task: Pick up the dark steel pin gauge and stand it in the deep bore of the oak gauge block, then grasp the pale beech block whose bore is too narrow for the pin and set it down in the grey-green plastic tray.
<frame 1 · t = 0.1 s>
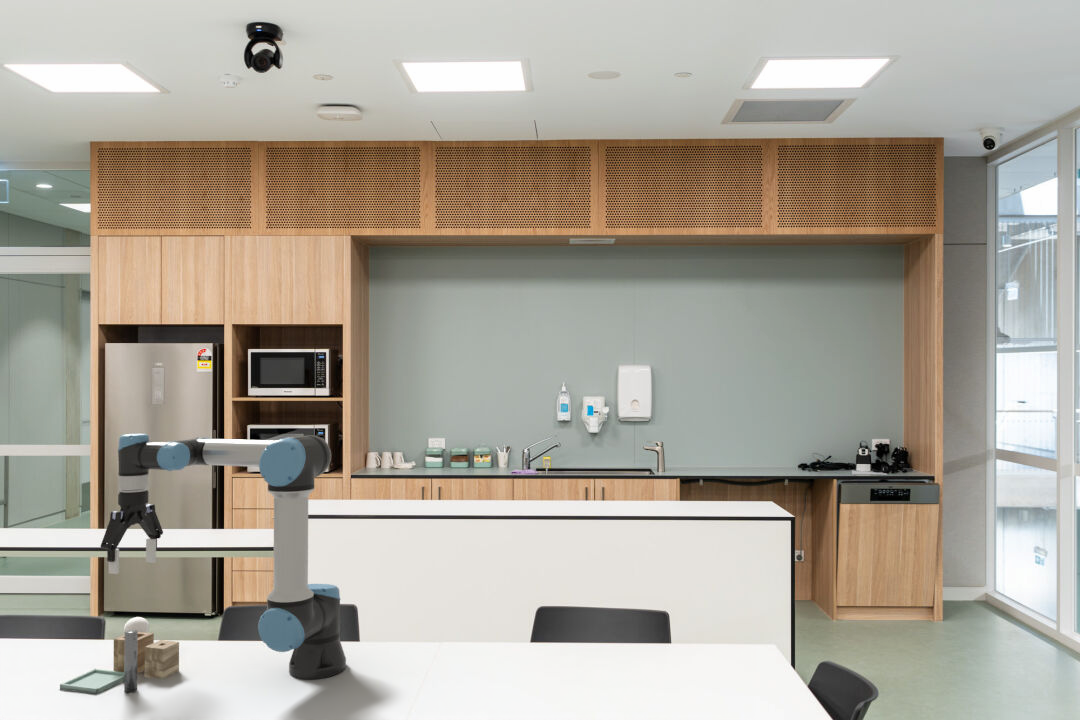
hand: (132, 567, 227), 28 cm above the table, fingers open, 13 cm apart
light bulb: (136, 656, 238), on the table
tray: (96, 683, 217), on the table
narrow-bore block: (161, 674, 224), on the table
wide-bore block: (133, 668, 227), on the table
pin gauge: (130, 690, 212), on the table
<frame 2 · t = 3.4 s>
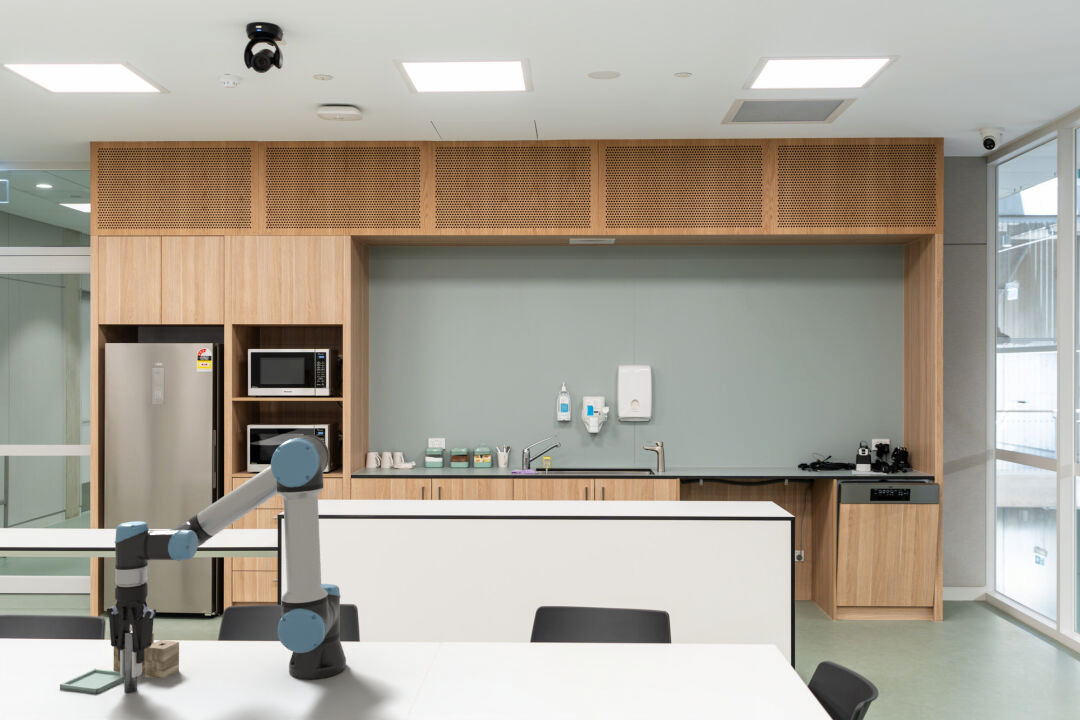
hand: (130, 674, 212), 4 cm above the table, fingers closed on pin gauge, 3 cm apart
pin gauge: (130, 690, 212), on the table, touching gripper
everything else where it was.
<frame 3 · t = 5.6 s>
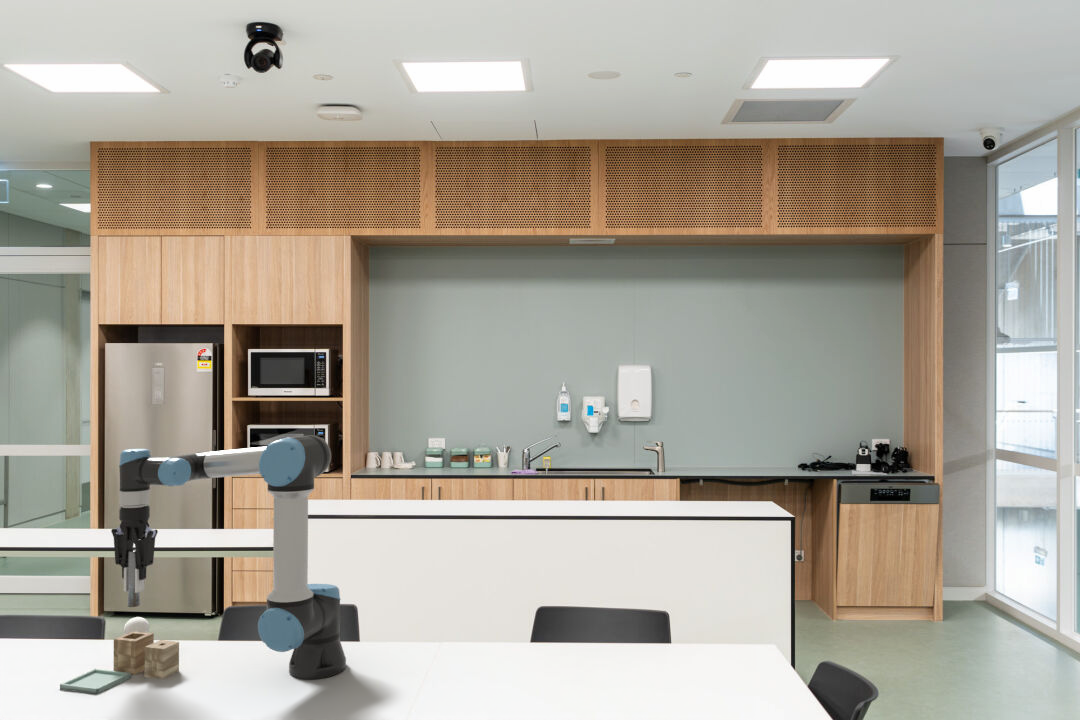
hand: (134, 590, 227), 22 cm above the table, fingers closed on pin gauge, 3 cm apart
pin gauge: (133, 605, 227), point 17 cm above the table, touching gripper
everything else where it was.
when the fingers open (11 cm above the table, at t = 8.3 s): pin gauge drops 4 cm, resting on wide-bore block.
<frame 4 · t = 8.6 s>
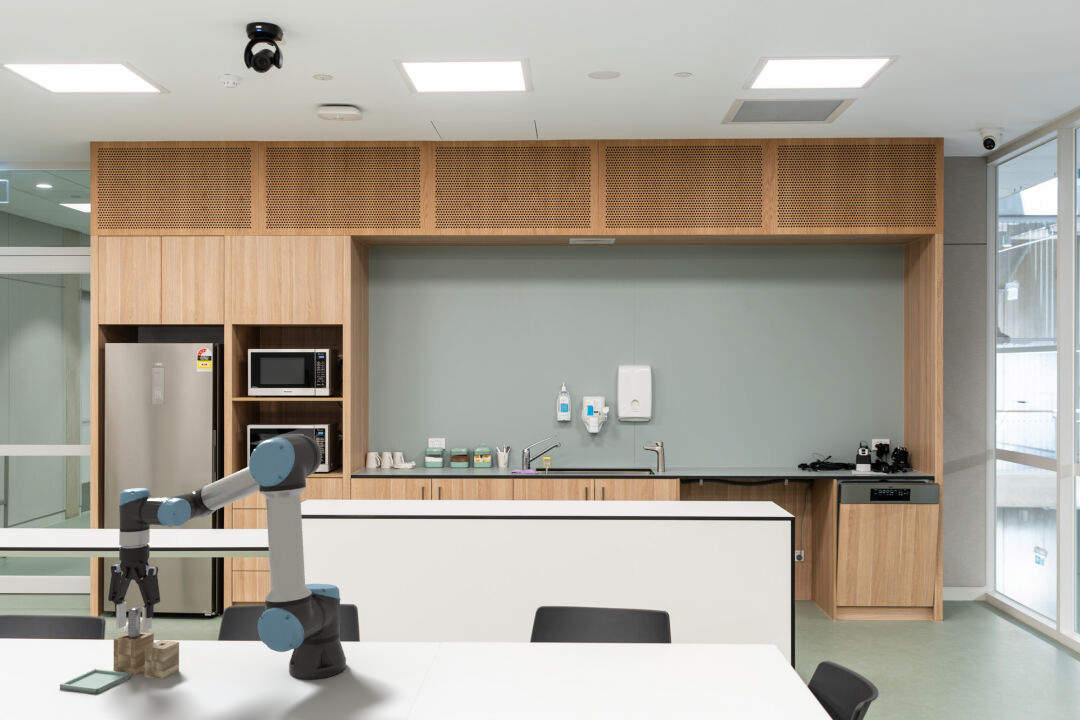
hand: (134, 628, 227), 11 cm above the table, fingers open, 8 cm apart
pin gauge: (133, 663, 227), point 2 cm above the table, touching wide-bore block
everything else where it was.
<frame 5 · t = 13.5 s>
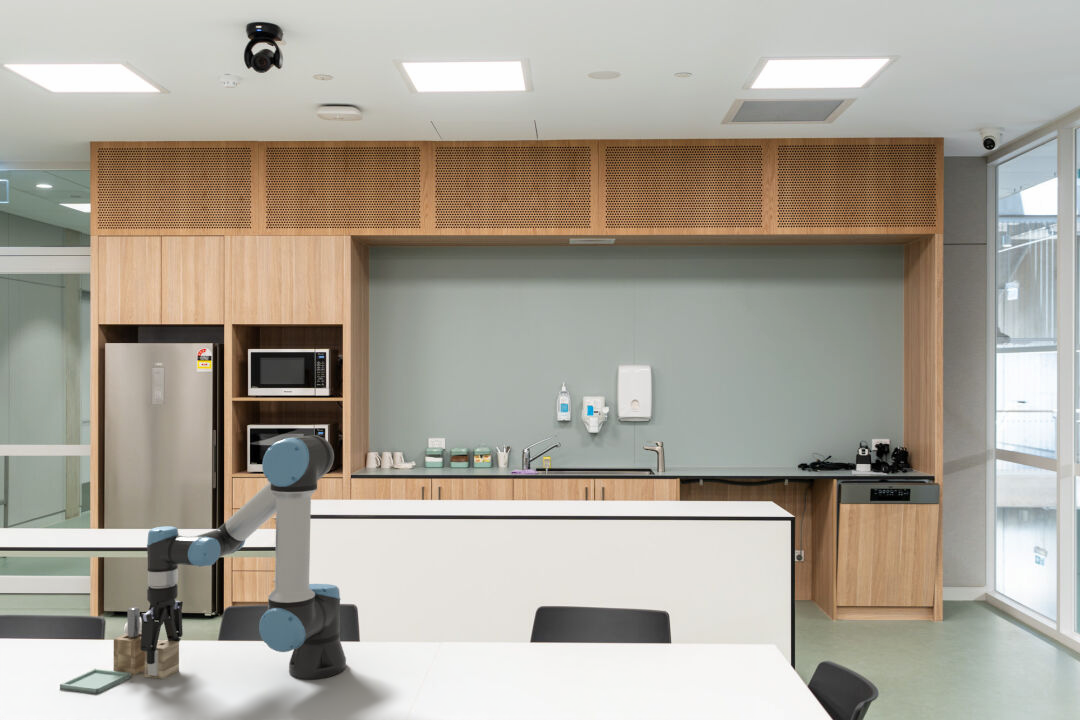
hand: (161, 670, 224), 1 cm above the table, fingers closed on narrow-bore block, 6 cm apart
narrow-bore block: (161, 673, 224), on the table, touching gripper
everything else where it was.
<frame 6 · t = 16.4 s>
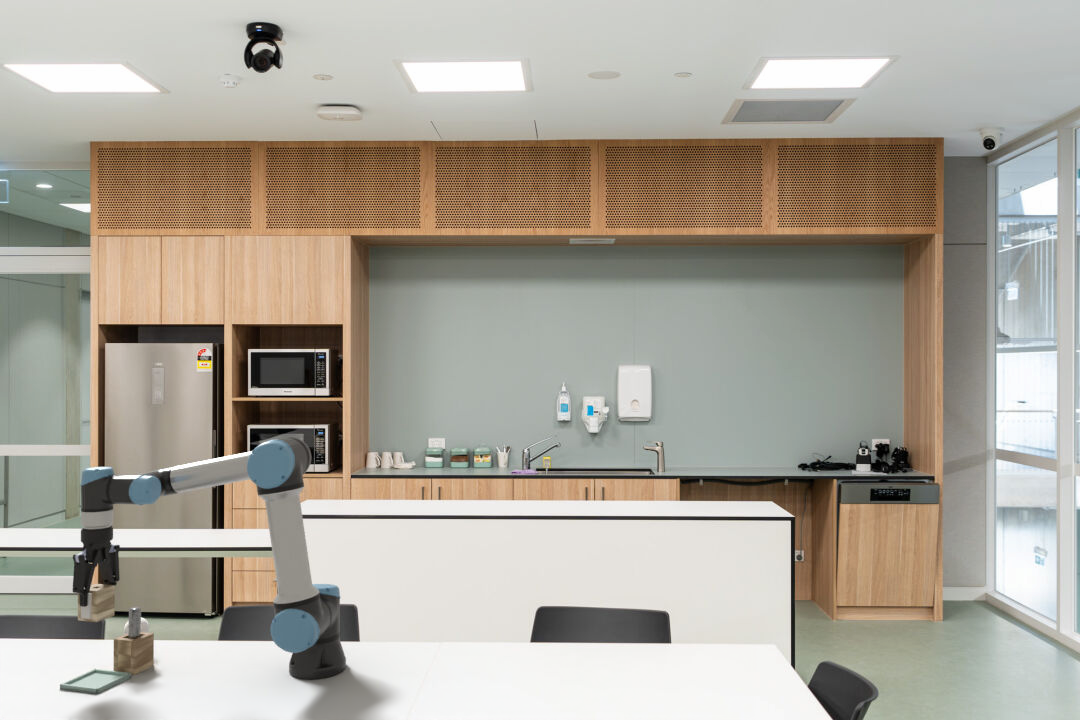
hand: (96, 614, 217), 18 cm above the table, fingers closed on narrow-bore block, 6 cm apart
narrow-bore block: (96, 617, 217), point 17 cm above the table, touching gripper
everything else where it was.
when the fingers open (3 cm above the table, at t = 19.3 s): narrow-bore block drops 2 cm, resting on tray.
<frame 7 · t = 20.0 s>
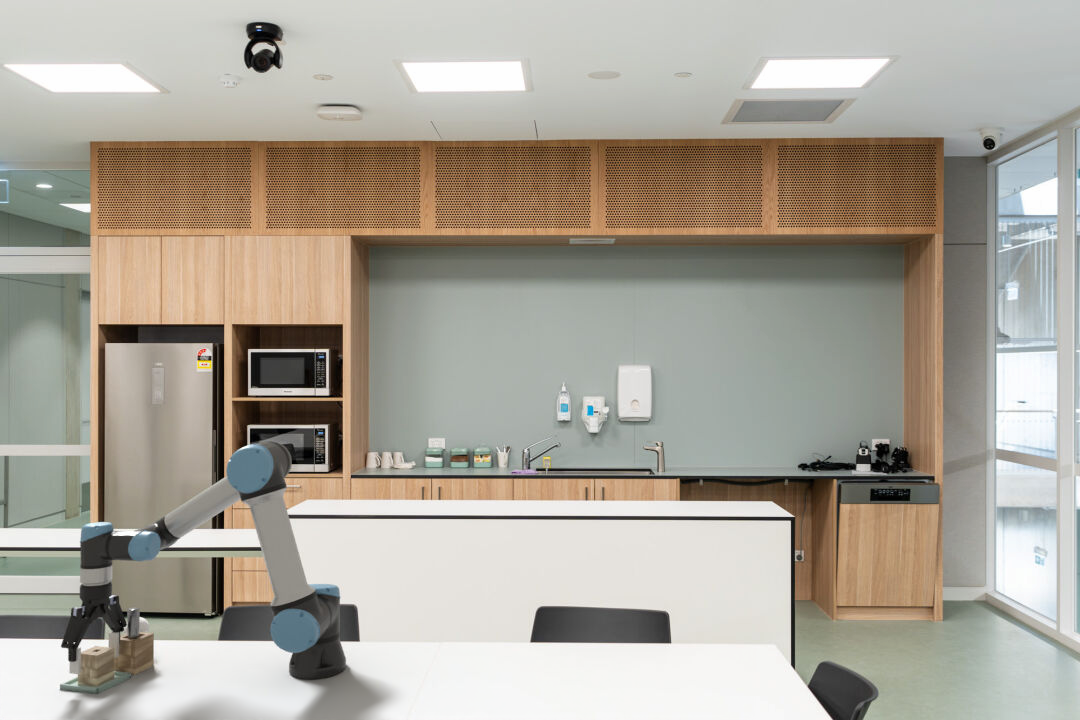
hand: (94, 664, 217), 5 cm above the table, fingers open, 12 cm apart
narrow-bore block: (96, 681, 217), resting on tray
everything else where it was.
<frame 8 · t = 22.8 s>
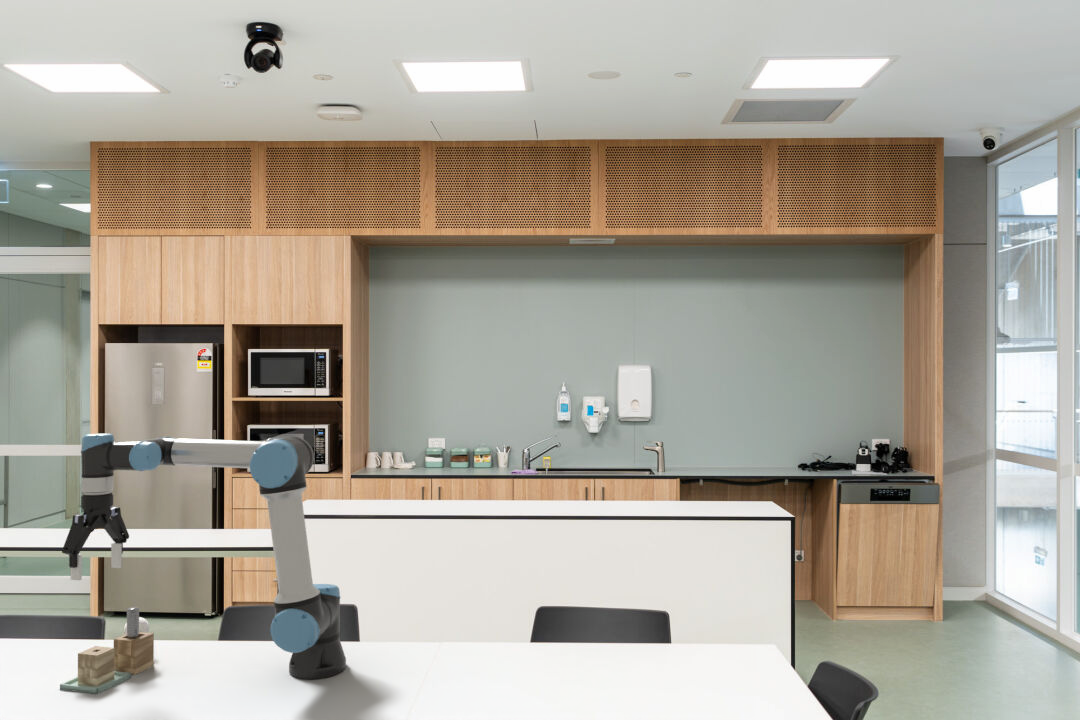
hand: (96, 573, 217), 29 cm above the table, fingers open, 13 cm apart
nothing on the table moved.
at the end: narrow-bore block inside the target area on the tray (0.0 cm from its centre), point 0.5 cm above the tray's base; pin gauge 0.1 cm off-centre on the wide-bore block, point 1.5 cm above the wide-bore block's base; pin gauge tilted 1° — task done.
